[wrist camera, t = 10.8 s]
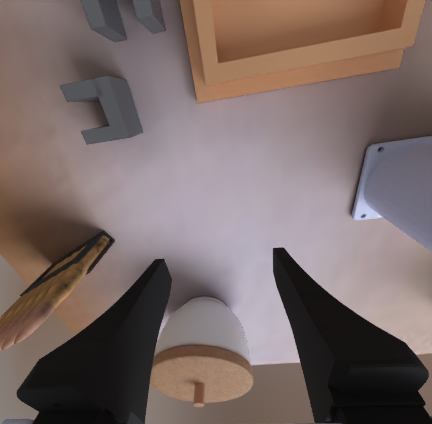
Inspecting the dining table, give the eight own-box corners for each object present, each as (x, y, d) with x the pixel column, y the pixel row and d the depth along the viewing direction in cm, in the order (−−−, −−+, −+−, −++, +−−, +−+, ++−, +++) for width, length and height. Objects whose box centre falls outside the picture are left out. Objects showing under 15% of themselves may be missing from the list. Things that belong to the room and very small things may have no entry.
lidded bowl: (171, 331, 34) (151, 421, 24) (161, 282, 28) (128, 378, 18) (242, 333, 34) (250, 425, 24) (248, 284, 27) (263, 383, 18)
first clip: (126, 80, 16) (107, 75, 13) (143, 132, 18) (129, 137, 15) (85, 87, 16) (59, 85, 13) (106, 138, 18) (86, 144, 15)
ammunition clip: (64, 272, 27) (-34, 377, 17) (52, 264, 27) (-58, 368, 16) (115, 240, 24) (34, 346, 14) (104, 230, 23) (9, 333, 13)
